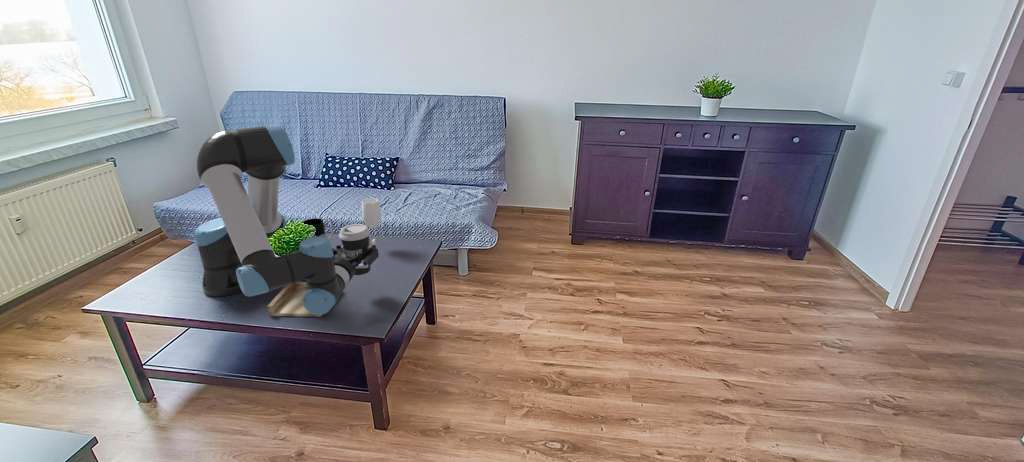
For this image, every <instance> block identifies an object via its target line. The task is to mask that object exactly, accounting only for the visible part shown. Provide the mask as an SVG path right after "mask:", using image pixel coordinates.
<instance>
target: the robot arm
mask: <svg viewBox="0 0 1024 462" xmlns="http://www.w3.org/2000/svg"><path fill="white" fill-rule="evenodd" d="M295 162H296V157H295V152H294V148H293V144H292V142H291V139H290V138H289V136H288V133H287V132H286V130H285V128H283V127H282V126H281V125H278V124H276V125H264V126H263V125H262V126H257V127H256V126H254V127H248V128H237V129H230V130H229V129H227V130H221V131H218V132H215V133H214V134H212V135H211V136H210V137H208V138H207V139H206V140H205V141H204V143H202V146H201V147H200V149H199V152H198V154H197V159H196V171H197V175H198V178H199V180H200V182H201V184H202V186H204V187H206V188H207V189H208V190H209V192H210V195H211V196H212V199H213V201H214V203H215V206H216V208H217V210H218V214H219V215H220V217H217V218H213V219H211V220H207V221H206V222H203V223H201V224H200V225H199V226H197V227H196V228H195V230H194V240H195V245H196V247H197V250H198V253H199V256H200V260H201V263H202V267H203V275H202V277H203V278H202V289H203V293H204V294H205V295H206V296H208V297H209V296H210V297H226V296H231V295H235V294H238V293H240V292H241V293H243V295H244V296H246V297H255V296H258V295H259V296H260V295H262V294H267V293H269V292H271V291H274V290H276V289H280V288H282V287H285V286H286V285H289V284H293V283H297V282H304V281H305V282H306V284H307V289H308V290H307V291H306V293H305V295H304V297H303V305H304V307H305V309H306V310H307V311H309V312H310V313H312V314H316V315H322V316H323V315H326V314H327V313H328V312H330V310H331V309H333V307H334V306H335V305H336V304H337V301H338V299H339V298H341V297H340V296H342V293H343V292H344V290H345V289H346V287H347V286H348V285H349V283H350V282H351V280H352V279H353V277H354V276H355V275H354V273H355V271H357V270H358V269H359V268H364V270H368V267H369V266H370V267H371V266H372V264H373V263H374V262H375V261H376V260H377V259H378V258H379V249H378V248H377V239H376V238H373V239H372V240H371V241H370V242H369V246H368V247H367V248H368V250H366V251H364V252H363V253H361V254H359V255H357V256H353V257H351V258H346V257H343V255H345V252H344V248H343V244H342V243H341V244H340V245H336V246H335V247H336V248H334V247H332V243H331V241H330V240H328V239H329V238H327V237H326V238H324V237H310V238H307V239H306V240H304V239H303V240H301V241H300V243H299V248H298V249H299V250H297V251H294V252H290V253H286V254H283V255H279V256H276V254H275V251H274V249H273V247H272V246H271V244H270V242H269V240H268V238H270V237H271V236H272V235H273V234H274V233H275V232H276V231H277V230H279V228H283V227H285V226H286V224H287V219H286V218H285V216H284V214H283V213H282V212H280V211H279V209H278V207H279V192H280V178H281V177H282V176H283V175H284V174H285V173H286V170H287V166H291V165H293V164H294V163H295ZM243 173H245V174H246V175H247V190H246V188H245V186H244V184H243V182H242V177H243ZM287 225H288V224H287ZM336 257H337V258H336ZM335 258H336V259H335Z"/></svg>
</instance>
